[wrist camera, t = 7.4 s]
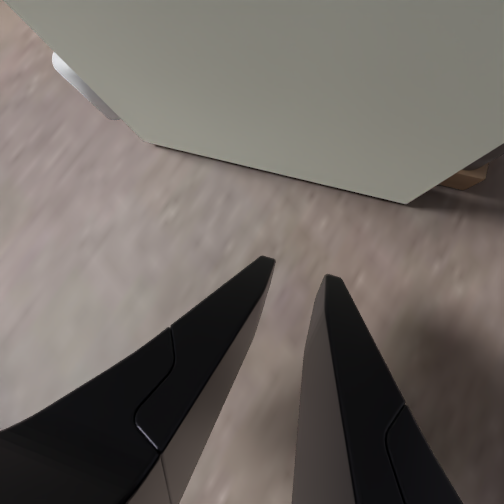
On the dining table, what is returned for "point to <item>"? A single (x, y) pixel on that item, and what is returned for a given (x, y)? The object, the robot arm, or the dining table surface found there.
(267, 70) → the door
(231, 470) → the dining table surface
